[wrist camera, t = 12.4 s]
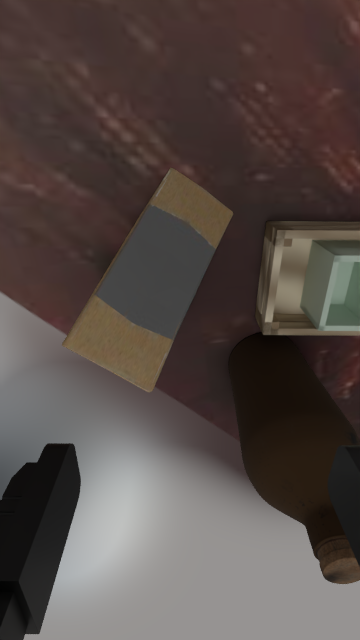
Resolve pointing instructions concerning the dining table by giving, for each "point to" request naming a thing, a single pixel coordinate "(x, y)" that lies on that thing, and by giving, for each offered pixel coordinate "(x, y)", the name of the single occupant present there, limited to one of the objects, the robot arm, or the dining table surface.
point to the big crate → (292, 274)
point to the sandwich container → (151, 282)
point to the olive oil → (292, 443)
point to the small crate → (333, 285)
